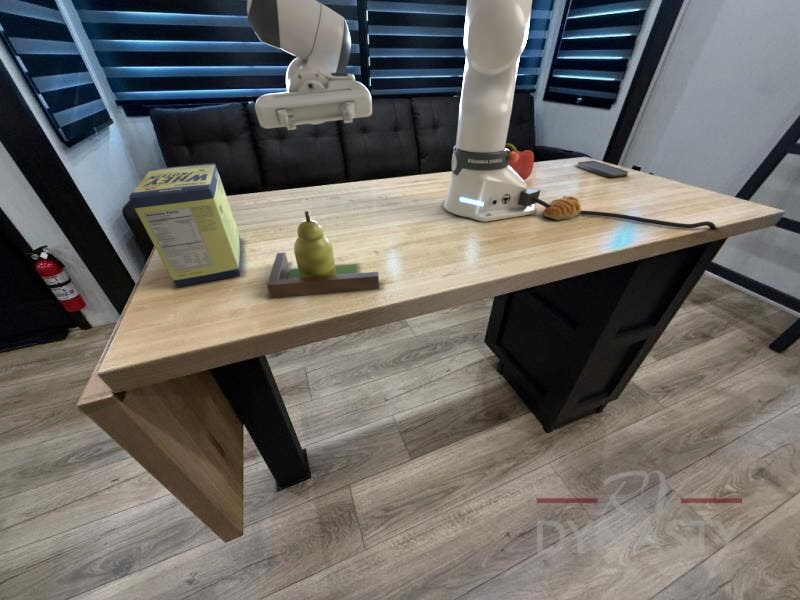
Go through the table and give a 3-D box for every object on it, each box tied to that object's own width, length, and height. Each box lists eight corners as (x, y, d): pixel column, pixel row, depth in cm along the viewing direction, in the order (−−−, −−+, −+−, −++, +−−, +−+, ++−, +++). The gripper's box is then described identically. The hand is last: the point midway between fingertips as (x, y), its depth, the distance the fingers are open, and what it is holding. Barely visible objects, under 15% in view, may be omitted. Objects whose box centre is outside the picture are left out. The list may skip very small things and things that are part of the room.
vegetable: (487, 179, 100) (493, 145, 94) (506, 173, 106) (512, 140, 100) (518, 188, 94) (526, 151, 88) (536, 180, 99) (545, 145, 93)
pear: (336, 265, 59) (327, 202, 52) (336, 284, 54) (326, 217, 47) (302, 268, 58) (288, 204, 51) (298, 287, 53) (282, 220, 46)
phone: (610, 174, 100) (576, 162, 112) (609, 178, 101) (575, 165, 113) (630, 172, 102) (594, 160, 114) (628, 175, 103) (593, 163, 114)
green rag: (356, 264, 59) (356, 264, 59) (357, 284, 54) (357, 284, 54) (289, 270, 58) (289, 269, 58) (284, 291, 53) (284, 290, 53)
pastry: (561, 224, 73) (566, 208, 71) (535, 215, 78) (539, 200, 75) (581, 214, 78) (586, 199, 76) (555, 206, 82) (560, 192, 80)
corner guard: (373, 257, 61) (373, 246, 60) (379, 288, 53) (378, 276, 52) (280, 264, 59) (276, 252, 58) (270, 298, 51) (266, 285, 50)
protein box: (241, 239, 68) (215, 161, 58) (242, 276, 56) (210, 187, 47) (186, 248, 64) (149, 167, 55) (175, 289, 53) (126, 196, 44)
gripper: (250, 83, 58) (247, 106, 49) (361, 72, 61) (377, 92, 52) (262, 121, 62) (261, 149, 53) (364, 109, 66) (380, 133, 57)
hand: (320, 121), depth 53 cm, fingers open, 8 cm apart
